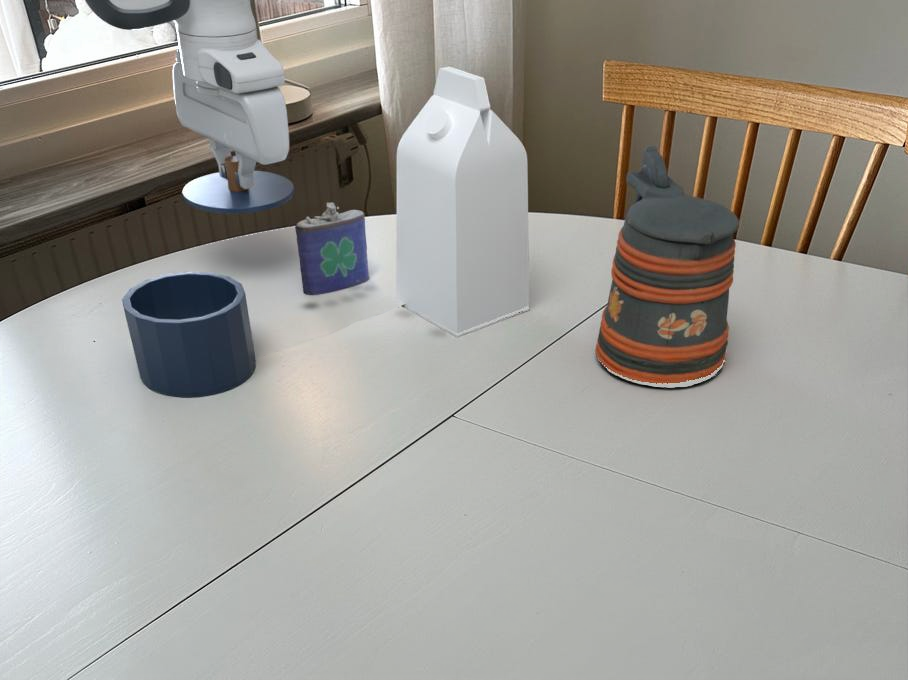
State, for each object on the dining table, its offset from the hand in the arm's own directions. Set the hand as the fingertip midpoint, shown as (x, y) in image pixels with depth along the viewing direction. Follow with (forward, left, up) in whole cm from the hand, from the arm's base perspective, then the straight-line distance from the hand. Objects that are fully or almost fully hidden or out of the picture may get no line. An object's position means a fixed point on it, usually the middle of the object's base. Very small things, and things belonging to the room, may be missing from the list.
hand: (237, 182), depth 125 cm
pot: (+19, -19, -11) cm, 29 cm away
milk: (+26, +14, -11) cm, 32 cm away
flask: (+12, +5, -11) cm, 17 cm away
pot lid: (0, 0, -1) cm, 1 cm away
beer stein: (+49, +23, -11) cm, 56 cm away
